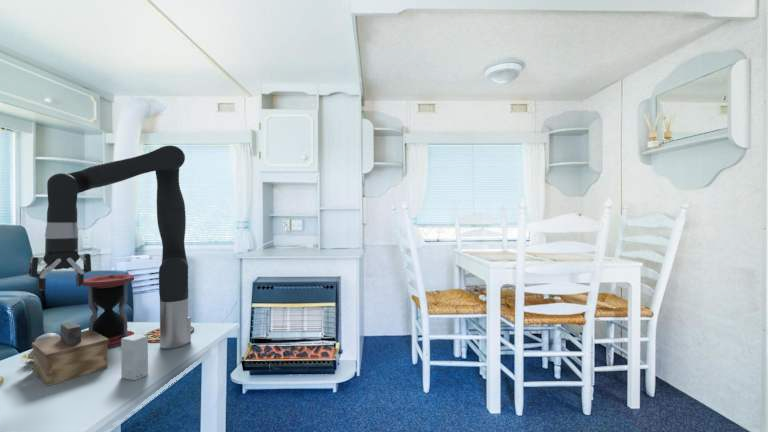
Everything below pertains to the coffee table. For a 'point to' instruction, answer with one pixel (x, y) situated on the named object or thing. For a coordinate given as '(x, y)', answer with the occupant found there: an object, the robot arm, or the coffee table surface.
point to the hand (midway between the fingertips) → (61, 288)
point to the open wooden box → (70, 364)
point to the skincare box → (134, 357)
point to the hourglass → (109, 306)
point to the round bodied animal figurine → (43, 337)
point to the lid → (69, 341)
